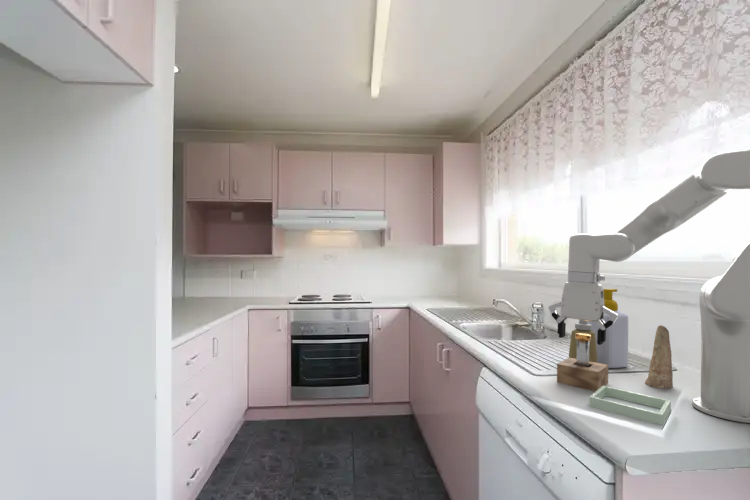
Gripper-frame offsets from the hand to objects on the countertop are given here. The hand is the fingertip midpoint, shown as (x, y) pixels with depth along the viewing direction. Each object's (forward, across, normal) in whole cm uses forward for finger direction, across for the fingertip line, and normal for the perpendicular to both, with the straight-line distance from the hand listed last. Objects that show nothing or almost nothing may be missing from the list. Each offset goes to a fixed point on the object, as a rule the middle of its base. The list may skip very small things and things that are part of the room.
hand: (580, 340), depth 104 cm
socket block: (+12, -1, 0) cm, 13 cm away
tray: (+12, -14, +11) cm, 21 cm away
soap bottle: (+13, 0, -30) cm, 33 cm away
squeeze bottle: (+13, +4, -18) cm, 23 cm away
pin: (+12, -1, 0) cm, 12 cm away
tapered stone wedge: (+12, -16, -14) cm, 25 cm away
